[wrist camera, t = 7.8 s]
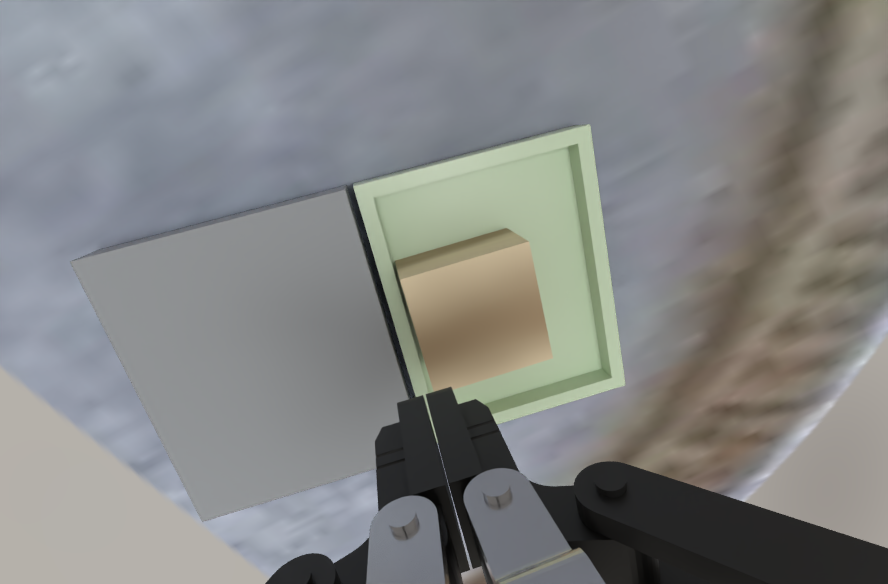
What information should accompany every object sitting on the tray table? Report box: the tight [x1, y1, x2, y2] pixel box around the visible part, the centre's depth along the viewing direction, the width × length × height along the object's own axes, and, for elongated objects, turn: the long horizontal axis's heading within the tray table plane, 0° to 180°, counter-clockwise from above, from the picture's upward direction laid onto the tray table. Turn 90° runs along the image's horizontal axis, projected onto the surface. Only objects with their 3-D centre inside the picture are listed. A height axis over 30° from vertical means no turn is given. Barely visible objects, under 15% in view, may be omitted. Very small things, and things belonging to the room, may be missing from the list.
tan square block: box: [395, 228, 553, 392], centre depth 20 cm, size 5×5×3 cm
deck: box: [70, 185, 411, 522], centre depth 21 cm, size 12×10×2 cm
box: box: [353, 124, 625, 443], centre depth 22 cm, size 12×10×2 cm
